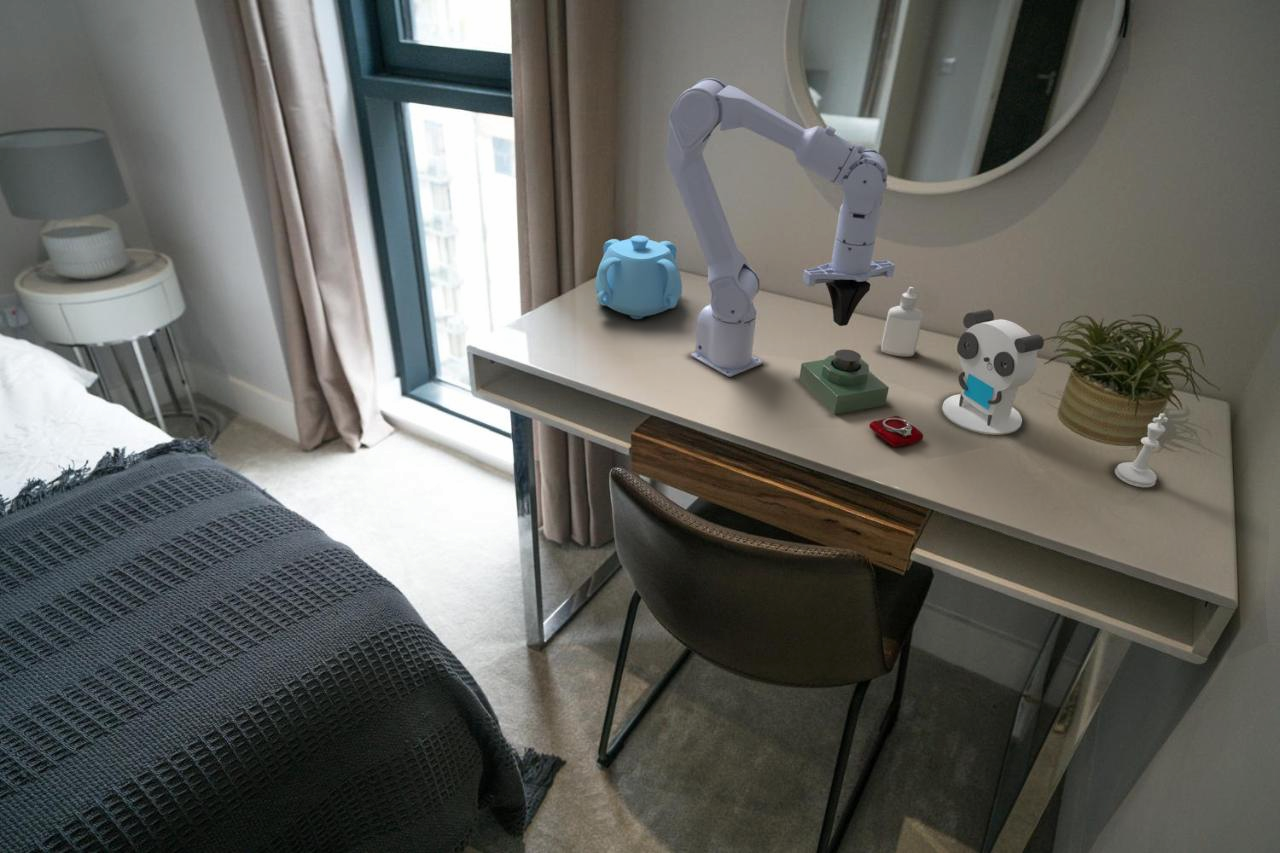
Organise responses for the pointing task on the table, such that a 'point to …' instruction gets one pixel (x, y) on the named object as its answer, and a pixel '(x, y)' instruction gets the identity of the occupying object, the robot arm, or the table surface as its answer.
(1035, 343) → the panda figurine
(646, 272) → the decorative pot
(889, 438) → the engagement ring
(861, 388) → the green button base
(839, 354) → the black push button
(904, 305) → the eye dropper bottle
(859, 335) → the table surface
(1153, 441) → the chess piece
